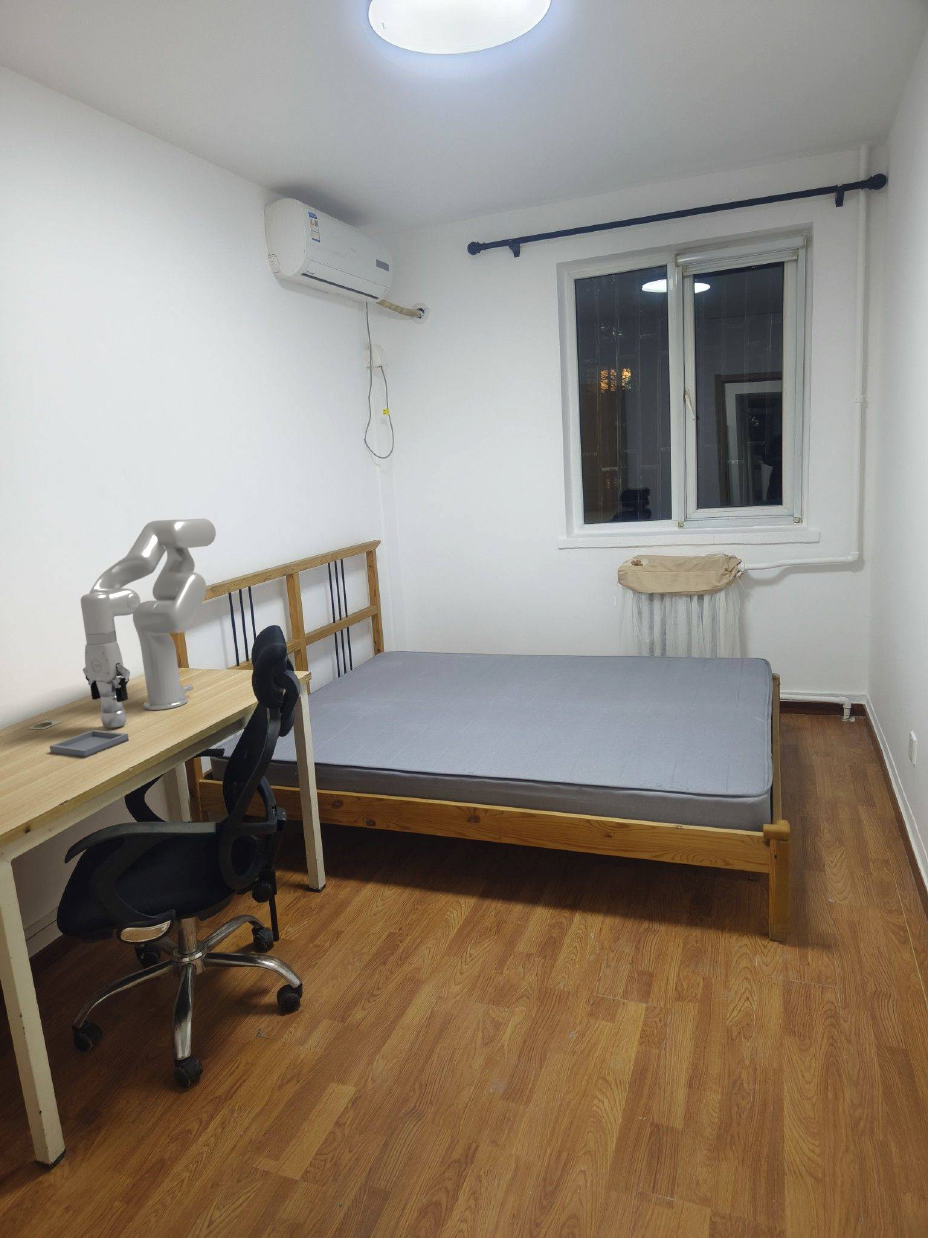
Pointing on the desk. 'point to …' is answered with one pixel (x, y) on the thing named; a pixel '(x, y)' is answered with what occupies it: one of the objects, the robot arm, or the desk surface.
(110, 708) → the plastic bottle
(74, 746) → the charcoal tray
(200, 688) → the desk surface
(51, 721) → the desk surface
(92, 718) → the desk surface
